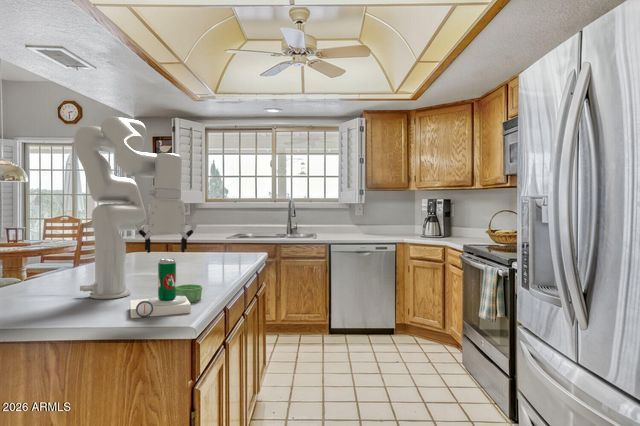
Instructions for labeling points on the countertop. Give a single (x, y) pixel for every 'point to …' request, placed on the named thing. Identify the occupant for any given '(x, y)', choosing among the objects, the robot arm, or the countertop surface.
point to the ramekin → (189, 291)
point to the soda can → (167, 279)
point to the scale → (159, 307)
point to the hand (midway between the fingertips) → (165, 252)
